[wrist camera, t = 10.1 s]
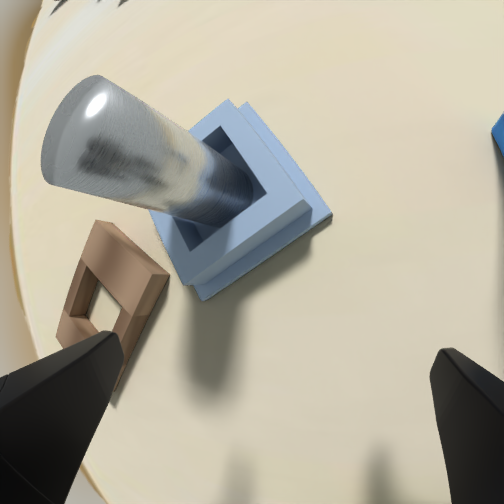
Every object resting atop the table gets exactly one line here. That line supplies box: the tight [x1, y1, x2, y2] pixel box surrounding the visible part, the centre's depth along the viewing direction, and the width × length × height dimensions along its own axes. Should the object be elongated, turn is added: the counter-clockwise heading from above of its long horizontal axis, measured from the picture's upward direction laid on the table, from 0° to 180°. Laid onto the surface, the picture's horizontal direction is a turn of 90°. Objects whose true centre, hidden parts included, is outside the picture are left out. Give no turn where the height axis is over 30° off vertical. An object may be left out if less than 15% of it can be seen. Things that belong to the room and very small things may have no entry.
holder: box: [56, 220, 170, 392], centre depth 23 cm, size 8×13×2 cm, turn 147°
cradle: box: [148, 99, 333, 301], centre depth 19 cm, size 10×10×3 cm
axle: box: [41, 75, 253, 228], centre depth 14 cm, size 4×4×12 cm
